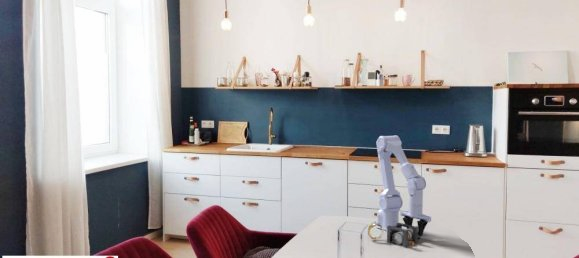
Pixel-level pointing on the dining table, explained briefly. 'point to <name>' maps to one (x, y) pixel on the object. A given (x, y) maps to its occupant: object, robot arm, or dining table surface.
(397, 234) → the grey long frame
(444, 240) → the dining table surface
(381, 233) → the alarm clock
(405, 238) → the black bracket with roller
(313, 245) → the dining table surface
